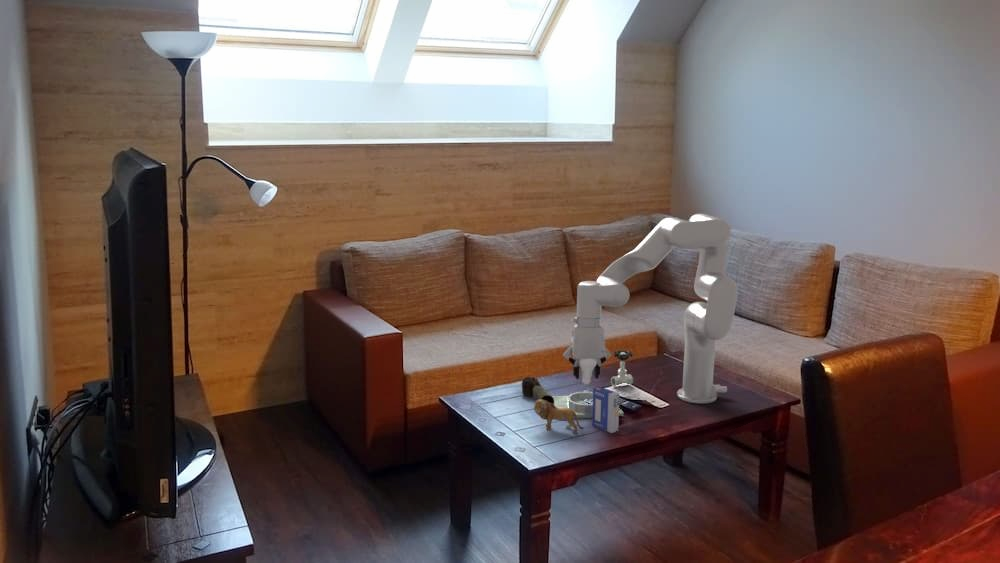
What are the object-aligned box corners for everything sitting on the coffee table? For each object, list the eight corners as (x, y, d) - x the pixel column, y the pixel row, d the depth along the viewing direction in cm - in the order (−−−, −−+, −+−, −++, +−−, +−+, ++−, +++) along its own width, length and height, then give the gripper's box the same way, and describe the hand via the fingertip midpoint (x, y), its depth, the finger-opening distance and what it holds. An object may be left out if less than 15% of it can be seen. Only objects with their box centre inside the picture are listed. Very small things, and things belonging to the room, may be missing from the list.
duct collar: (611, 397, 261) (611, 388, 260) (623, 416, 245) (623, 406, 245) (550, 399, 259) (550, 390, 258) (559, 419, 243) (559, 409, 243)
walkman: (591, 425, 239) (593, 387, 236) (598, 423, 241) (599, 385, 238) (612, 433, 233) (613, 394, 230) (618, 431, 235) (620, 392, 232)
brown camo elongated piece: (554, 407, 253) (554, 390, 252) (534, 409, 251) (534, 393, 250) (535, 387, 270) (535, 372, 268) (516, 390, 268) (516, 374, 266)
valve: (608, 384, 273) (609, 350, 270) (624, 382, 275) (626, 348, 273) (618, 391, 267) (619, 356, 264) (635, 388, 270) (636, 354, 267)
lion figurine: (533, 431, 234) (533, 402, 232) (534, 424, 240) (534, 396, 238) (583, 434, 233) (584, 405, 231) (583, 426, 238) (584, 398, 236)
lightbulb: (596, 381, 253) (598, 348, 251) (595, 388, 247) (597, 354, 245) (576, 380, 254) (578, 347, 251) (575, 387, 248) (577, 353, 245)
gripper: (563, 325, 241) (561, 382, 245) (618, 324, 243) (616, 381, 247) (558, 318, 249) (557, 374, 253) (613, 317, 250) (610, 372, 254)
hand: (586, 376), depth 250 cm, fingers closed on lightbulb, 5 cm apart
